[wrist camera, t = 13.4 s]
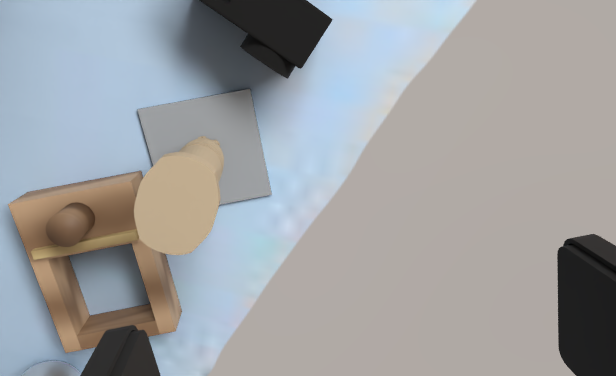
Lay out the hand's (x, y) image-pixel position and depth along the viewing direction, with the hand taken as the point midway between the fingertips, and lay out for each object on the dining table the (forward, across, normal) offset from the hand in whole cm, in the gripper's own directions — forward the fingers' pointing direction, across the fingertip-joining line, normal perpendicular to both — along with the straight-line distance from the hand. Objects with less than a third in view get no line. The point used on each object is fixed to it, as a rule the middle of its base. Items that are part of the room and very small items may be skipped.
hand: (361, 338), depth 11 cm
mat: (+34, +8, +2) cm, 35 cm away
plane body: (+34, +20, +10) cm, 41 cm away
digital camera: (+35, +1, -9) cm, 36 cm away
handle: (+34, +8, +2) cm, 35 cm away
